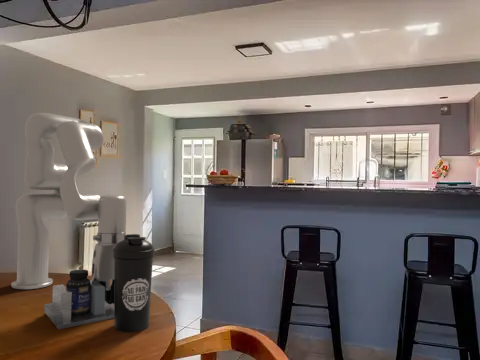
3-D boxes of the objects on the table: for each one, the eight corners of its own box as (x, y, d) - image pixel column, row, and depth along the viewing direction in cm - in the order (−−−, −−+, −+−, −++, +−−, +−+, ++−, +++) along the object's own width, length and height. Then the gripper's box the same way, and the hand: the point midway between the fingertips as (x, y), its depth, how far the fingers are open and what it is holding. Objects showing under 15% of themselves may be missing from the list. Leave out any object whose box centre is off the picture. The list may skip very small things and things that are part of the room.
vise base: (43, 313, 105) (43, 284, 105) (110, 301, 116) (111, 275, 117) (55, 330, 94) (56, 297, 94) (129, 315, 105) (129, 286, 106)
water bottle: (114, 336, 91) (117, 239, 91) (107, 322, 100) (110, 233, 100) (156, 330, 95) (159, 237, 96) (146, 316, 105) (149, 232, 105)
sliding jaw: (84, 305, 109) (85, 281, 109) (93, 304, 111) (94, 280, 111) (95, 314, 102) (95, 288, 102) (104, 313, 104) (105, 287, 104)
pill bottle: (80, 316, 101) (82, 274, 101) (60, 314, 102) (61, 273, 102) (94, 309, 107) (95, 269, 107) (74, 307, 108) (75, 268, 108)
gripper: (89, 242, 102) (88, 311, 102) (142, 238, 112) (140, 301, 111) (80, 238, 108) (79, 304, 107) (130, 235, 117) (129, 295, 117)
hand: (110, 302), depth 109 cm, fingers closed
